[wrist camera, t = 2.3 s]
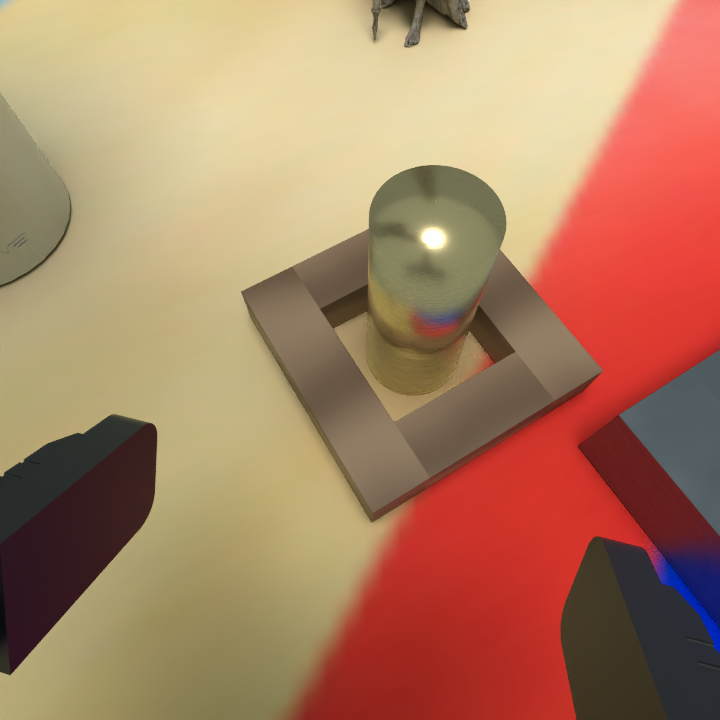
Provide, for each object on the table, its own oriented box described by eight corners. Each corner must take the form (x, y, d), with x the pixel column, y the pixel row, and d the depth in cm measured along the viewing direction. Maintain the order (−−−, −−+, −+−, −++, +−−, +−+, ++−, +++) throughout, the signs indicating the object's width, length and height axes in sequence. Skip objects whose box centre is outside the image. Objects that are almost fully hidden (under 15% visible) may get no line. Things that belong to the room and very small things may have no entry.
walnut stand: (250, 317, 29) (241, 291, 26) (442, 220, 31) (449, 189, 29) (371, 522, 24) (372, 513, 22) (582, 391, 27) (603, 370, 25)
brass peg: (350, 339, 28) (344, 199, 19) (424, 299, 29) (454, 146, 19) (397, 411, 27) (417, 298, 17) (474, 367, 27) (534, 236, 18)
